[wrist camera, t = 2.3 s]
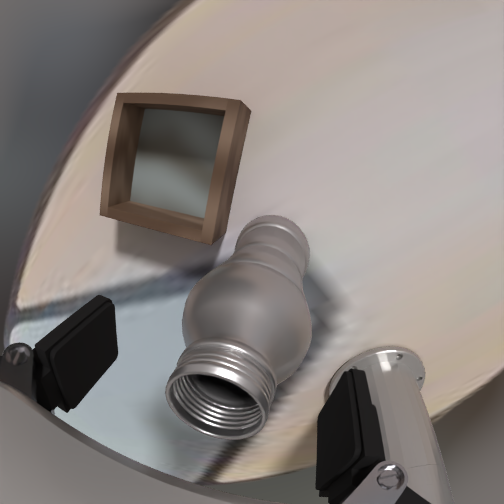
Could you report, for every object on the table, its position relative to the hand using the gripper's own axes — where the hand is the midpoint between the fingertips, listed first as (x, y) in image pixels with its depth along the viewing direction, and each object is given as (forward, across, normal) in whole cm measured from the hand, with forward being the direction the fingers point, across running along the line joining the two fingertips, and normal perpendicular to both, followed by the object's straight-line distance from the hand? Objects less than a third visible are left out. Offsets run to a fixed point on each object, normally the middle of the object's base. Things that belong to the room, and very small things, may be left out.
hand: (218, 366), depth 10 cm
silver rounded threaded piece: (+18, -1, 0) cm, 18 cm away
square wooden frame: (+18, +10, -6) cm, 22 cm away
